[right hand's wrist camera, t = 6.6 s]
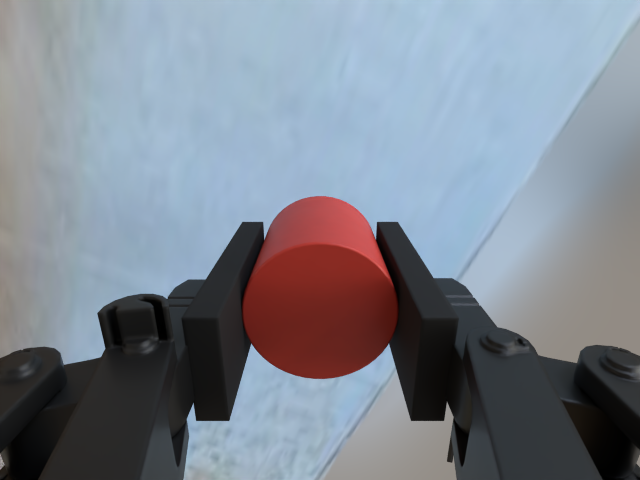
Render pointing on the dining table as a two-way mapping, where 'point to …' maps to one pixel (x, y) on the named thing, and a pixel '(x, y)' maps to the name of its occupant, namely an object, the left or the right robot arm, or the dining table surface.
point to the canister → (320, 292)
